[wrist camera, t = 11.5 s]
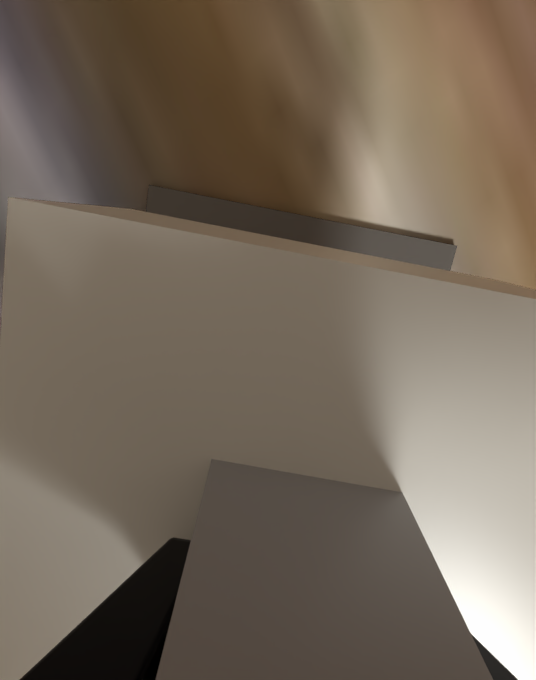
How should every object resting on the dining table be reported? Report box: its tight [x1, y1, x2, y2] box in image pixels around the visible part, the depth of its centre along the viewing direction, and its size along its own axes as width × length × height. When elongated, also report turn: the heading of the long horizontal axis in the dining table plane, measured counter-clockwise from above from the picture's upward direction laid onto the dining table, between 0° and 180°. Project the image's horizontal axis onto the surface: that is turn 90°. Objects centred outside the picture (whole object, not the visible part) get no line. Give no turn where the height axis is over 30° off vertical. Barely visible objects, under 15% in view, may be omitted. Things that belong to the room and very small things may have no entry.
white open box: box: [0, 197, 536, 680], centre depth 9 cm, size 10×10×10 cm
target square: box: [146, 185, 457, 271], centre depth 20 cm, size 12×12×1 cm
